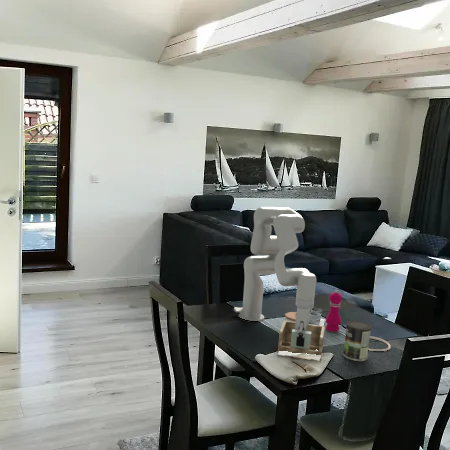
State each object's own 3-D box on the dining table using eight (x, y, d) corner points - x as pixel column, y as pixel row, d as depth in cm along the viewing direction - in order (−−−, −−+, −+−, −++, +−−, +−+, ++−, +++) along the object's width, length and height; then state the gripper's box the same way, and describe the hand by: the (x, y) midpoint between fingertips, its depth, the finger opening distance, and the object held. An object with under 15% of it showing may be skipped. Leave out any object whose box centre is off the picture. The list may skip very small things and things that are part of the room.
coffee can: (347, 360, 229) (350, 328, 227) (340, 351, 239) (343, 320, 237) (371, 361, 230) (375, 329, 228) (363, 351, 240) (366, 321, 238)
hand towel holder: (375, 345, 238) (339, 330, 254) (374, 355, 238) (338, 339, 255) (399, 339, 247) (364, 324, 264) (398, 348, 248) (363, 333, 264)
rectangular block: (289, 351, 232) (291, 331, 231) (290, 349, 235) (292, 329, 233) (308, 354, 230) (311, 334, 229) (309, 352, 233) (311, 331, 232)
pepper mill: (340, 333, 262) (344, 292, 259) (324, 331, 263) (328, 290, 260) (340, 328, 269) (344, 288, 266) (325, 326, 270) (329, 286, 267)
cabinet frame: (277, 354, 230) (279, 332, 229) (282, 342, 245) (284, 320, 244) (320, 361, 226) (322, 338, 225) (322, 348, 241) (325, 326, 240)
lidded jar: (309, 330, 263) (311, 311, 261) (302, 337, 253) (304, 317, 252) (287, 325, 267) (289, 307, 266) (280, 332, 258) (282, 313, 256)
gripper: (297, 295, 238) (294, 334, 241) (293, 307, 221) (289, 349, 224) (315, 297, 236) (311, 337, 239) (312, 309, 220) (307, 351, 223)
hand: (300, 342), depth 232 cm, fingers open, 7 cm apart
